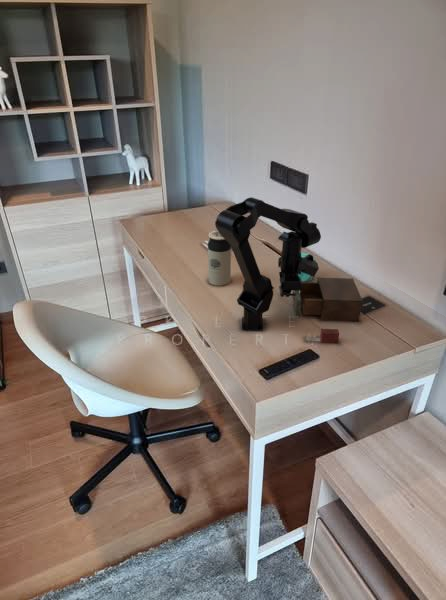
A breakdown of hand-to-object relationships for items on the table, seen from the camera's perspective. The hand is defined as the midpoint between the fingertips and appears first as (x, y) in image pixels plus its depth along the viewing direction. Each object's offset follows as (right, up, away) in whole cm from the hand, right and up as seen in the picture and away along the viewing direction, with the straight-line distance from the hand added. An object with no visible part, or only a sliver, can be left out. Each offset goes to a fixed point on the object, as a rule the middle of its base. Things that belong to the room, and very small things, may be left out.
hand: (287, 296), depth 137 cm
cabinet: (+16, -4, +1) cm, 16 cm away
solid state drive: (+27, -3, +4) cm, 27 cm away
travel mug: (-22, +6, +18) cm, 29 cm away
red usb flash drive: (+8, -13, -14) cm, 20 cm away
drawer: (+5, -3, +1) cm, 6 cm away
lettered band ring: (-21, +20, +43) cm, 52 cm away
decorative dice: (+8, +7, +21) cm, 24 cm away
